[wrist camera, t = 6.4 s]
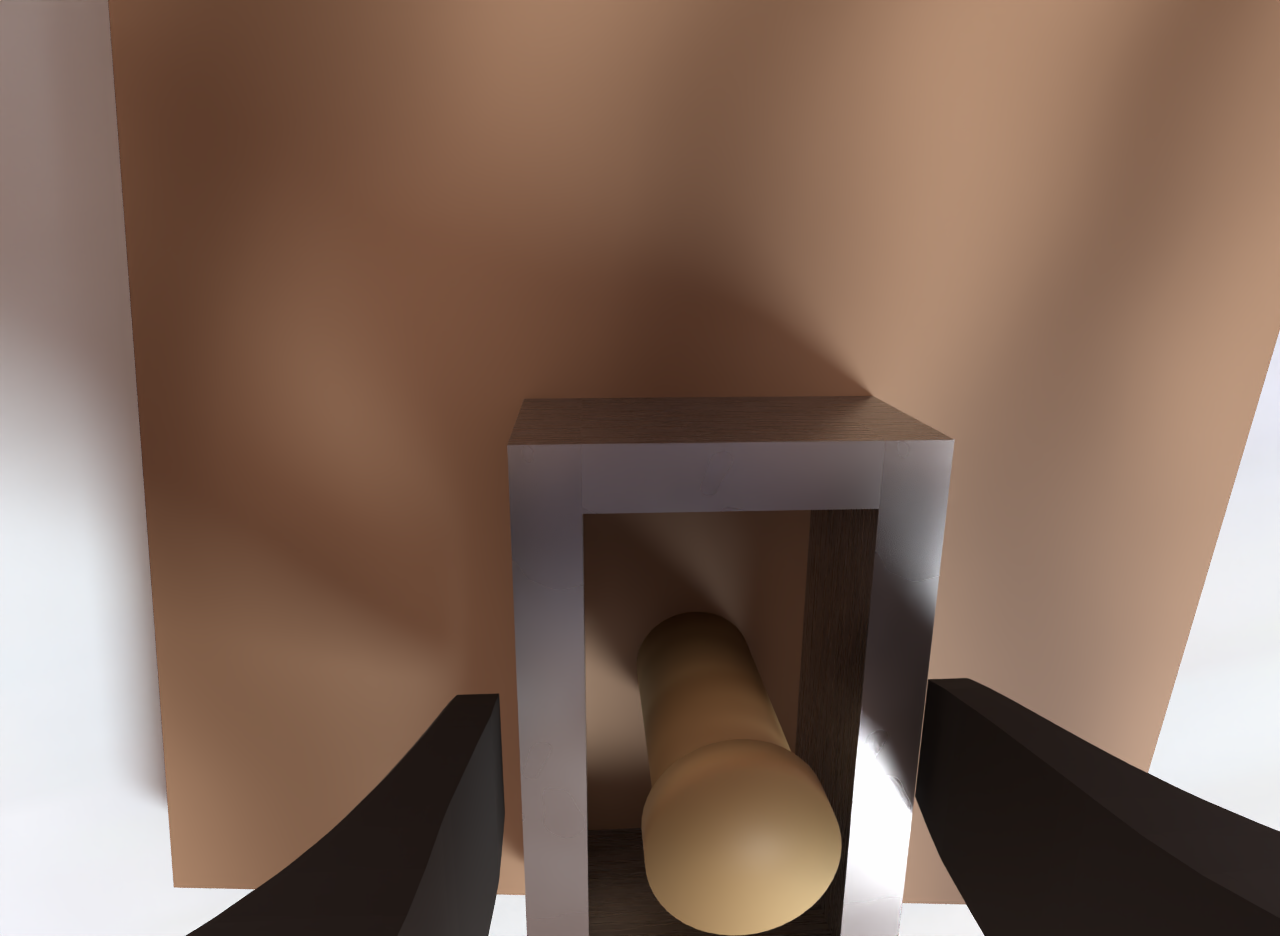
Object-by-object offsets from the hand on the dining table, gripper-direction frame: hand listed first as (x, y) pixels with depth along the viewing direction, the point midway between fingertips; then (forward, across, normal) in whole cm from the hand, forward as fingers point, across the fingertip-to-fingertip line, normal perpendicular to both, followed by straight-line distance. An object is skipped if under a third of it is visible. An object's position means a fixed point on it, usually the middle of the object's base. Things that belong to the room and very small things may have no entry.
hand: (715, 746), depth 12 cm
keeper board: (+4, -1, -7) cm, 8 cm away
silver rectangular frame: (+2, 0, 0) cm, 2 cm away
